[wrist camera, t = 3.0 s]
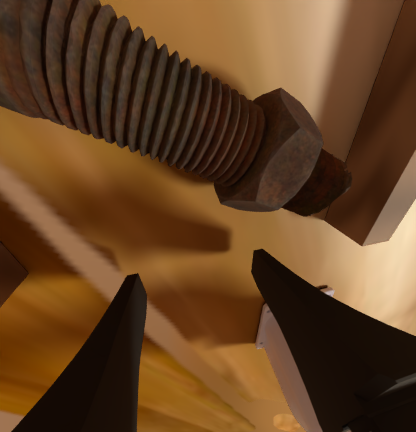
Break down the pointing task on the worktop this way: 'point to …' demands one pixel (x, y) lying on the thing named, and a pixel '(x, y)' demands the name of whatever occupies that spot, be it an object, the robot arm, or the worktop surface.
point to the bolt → (162, 106)
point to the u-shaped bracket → (356, 155)
